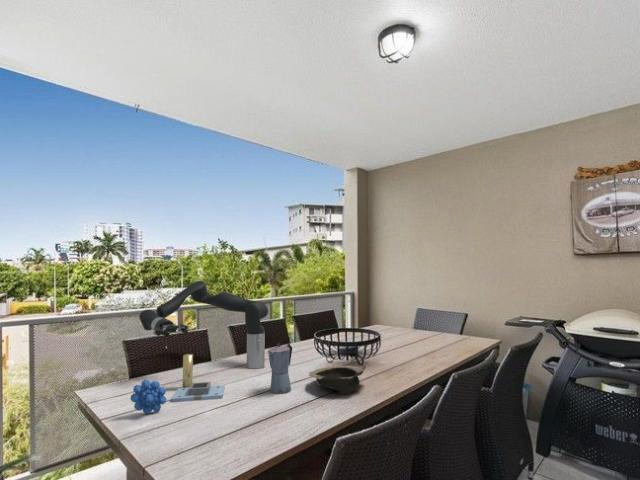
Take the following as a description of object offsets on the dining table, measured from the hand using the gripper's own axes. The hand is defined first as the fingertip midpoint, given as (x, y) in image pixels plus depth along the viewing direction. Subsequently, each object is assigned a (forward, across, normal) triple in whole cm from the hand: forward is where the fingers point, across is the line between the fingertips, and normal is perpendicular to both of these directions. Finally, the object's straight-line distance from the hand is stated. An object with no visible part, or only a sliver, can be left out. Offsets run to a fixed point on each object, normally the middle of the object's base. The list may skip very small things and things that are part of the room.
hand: (177, 333), depth 160 cm
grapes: (+28, +23, -20) cm, 41 cm away
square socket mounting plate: (+23, +1, -20) cm, 31 cm away
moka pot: (+44, -25, -18) cm, 54 cm away
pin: (+12, 0, -21) cm, 24 cm away
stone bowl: (+60, -43, -17) cm, 76 cm away
